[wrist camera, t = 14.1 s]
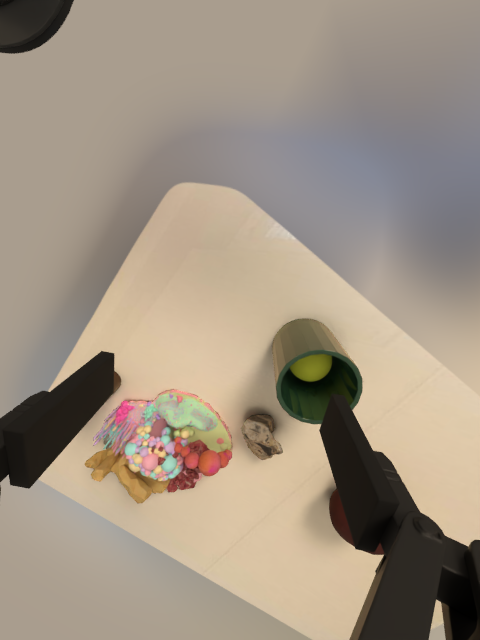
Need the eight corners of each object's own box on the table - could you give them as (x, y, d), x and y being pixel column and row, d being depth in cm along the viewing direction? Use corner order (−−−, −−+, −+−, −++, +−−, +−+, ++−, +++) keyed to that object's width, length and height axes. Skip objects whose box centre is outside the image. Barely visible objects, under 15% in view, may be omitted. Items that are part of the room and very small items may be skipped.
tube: (279, 313, 45) (287, 342, 33) (343, 325, 45) (374, 359, 33) (266, 369, 49) (268, 415, 36) (325, 381, 49) (347, 431, 36)
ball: (289, 329, 45) (299, 345, 39) (328, 335, 46) (344, 352, 39) (280, 365, 47) (288, 386, 41) (317, 370, 48) (331, 392, 41)
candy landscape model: (175, 501, 60) (160, 547, 51) (86, 440, 57) (54, 478, 48) (249, 435, 53) (248, 474, 45) (154, 361, 50) (131, 388, 41)
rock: (299, 447, 52) (291, 437, 44) (273, 476, 50) (259, 472, 43) (268, 414, 57) (256, 400, 49) (243, 439, 56) (226, 429, 48)
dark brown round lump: (339, 460, 54) (357, 511, 44) (397, 485, 55) (427, 540, 45) (312, 498, 57) (322, 553, 47) (367, 520, 58) (389, 579, 48)
